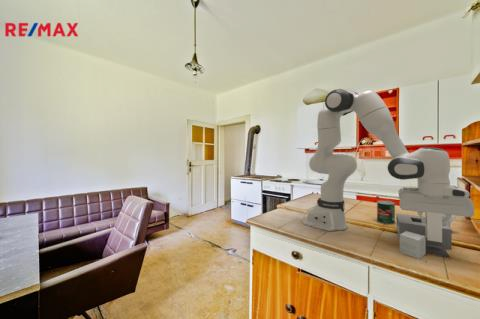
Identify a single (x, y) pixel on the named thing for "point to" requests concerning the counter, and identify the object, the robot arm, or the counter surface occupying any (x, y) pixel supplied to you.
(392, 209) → the canned tomato
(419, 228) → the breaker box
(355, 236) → the counter surface
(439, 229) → the beige rectangular block
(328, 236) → the counter surface
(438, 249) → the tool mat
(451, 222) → the lightbulb
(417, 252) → the product box
